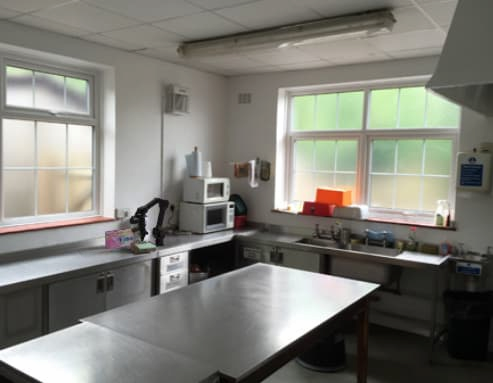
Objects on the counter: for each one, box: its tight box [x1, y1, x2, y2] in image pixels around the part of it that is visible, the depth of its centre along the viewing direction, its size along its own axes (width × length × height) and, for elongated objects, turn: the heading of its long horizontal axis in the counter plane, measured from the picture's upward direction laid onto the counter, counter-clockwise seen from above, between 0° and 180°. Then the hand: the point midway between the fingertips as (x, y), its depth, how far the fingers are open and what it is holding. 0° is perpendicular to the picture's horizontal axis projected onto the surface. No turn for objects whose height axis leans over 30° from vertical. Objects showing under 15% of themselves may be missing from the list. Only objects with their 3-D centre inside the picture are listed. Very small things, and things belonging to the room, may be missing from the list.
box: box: [129, 240, 157, 254], centre depth 357 cm, size 16×18×5 cm
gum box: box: [104, 228, 135, 250], centre depth 372 cm, size 24×8×14 cm, turn 136°
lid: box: [134, 240, 157, 249], centre depth 352 cm, size 13×18×3 cm
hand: (141, 242), depth 359 cm, fingers closed
